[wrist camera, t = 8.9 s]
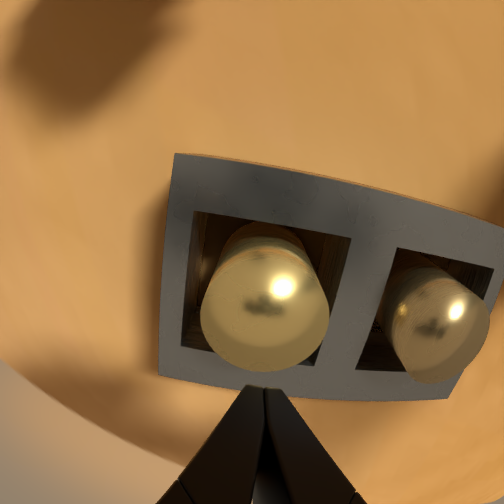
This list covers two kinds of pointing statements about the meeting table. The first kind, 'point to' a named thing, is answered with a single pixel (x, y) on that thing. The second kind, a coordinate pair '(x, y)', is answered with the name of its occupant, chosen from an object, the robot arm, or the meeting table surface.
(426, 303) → the dull gold rounded cylinder
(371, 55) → the meeting table surface
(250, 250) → the brass domed cylinder
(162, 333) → the jig
